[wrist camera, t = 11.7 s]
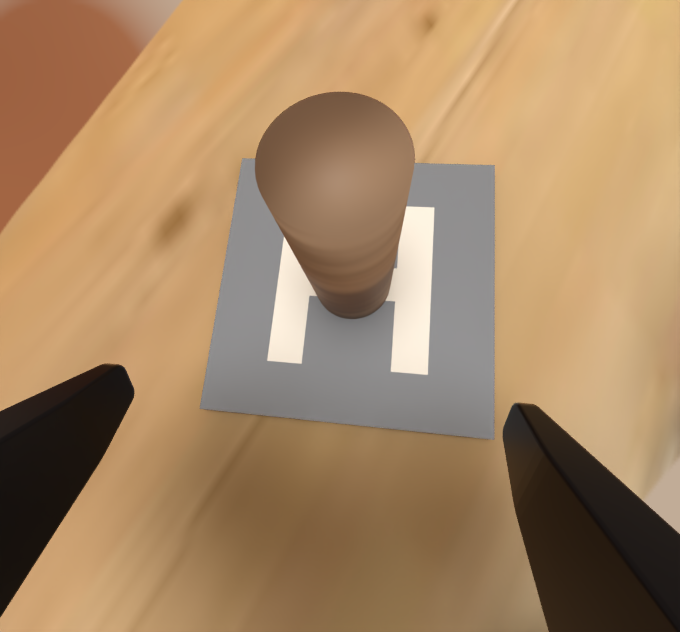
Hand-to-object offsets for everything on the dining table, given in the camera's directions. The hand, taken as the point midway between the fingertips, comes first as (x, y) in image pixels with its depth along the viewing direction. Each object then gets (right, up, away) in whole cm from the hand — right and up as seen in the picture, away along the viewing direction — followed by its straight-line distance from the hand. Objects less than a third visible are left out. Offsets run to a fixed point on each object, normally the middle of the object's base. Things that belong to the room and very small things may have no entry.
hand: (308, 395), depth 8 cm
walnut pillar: (+1, +4, +12) cm, 13 cm away
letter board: (+2, +4, +13) cm, 13 cm away
